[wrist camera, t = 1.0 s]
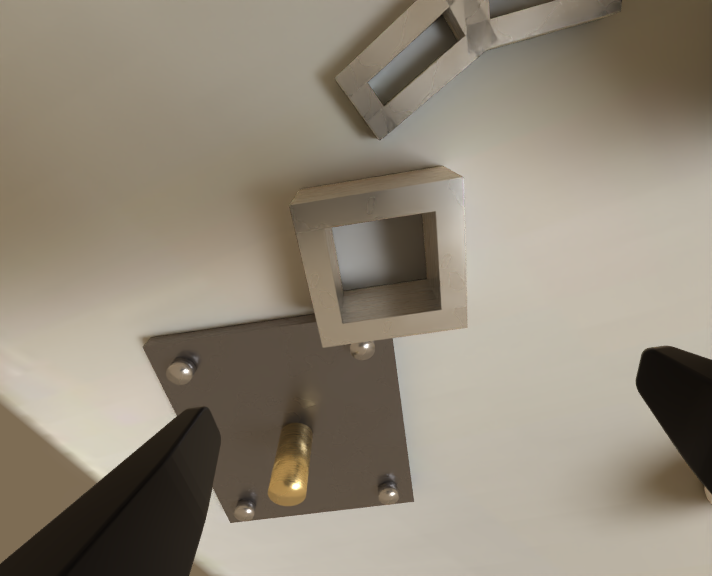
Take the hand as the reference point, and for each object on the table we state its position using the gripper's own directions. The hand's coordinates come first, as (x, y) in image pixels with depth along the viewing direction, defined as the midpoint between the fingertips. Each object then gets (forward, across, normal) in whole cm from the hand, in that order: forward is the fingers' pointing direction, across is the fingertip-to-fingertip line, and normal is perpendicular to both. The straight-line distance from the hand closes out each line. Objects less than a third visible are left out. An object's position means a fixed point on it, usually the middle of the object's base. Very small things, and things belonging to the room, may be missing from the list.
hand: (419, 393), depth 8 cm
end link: (+10, 0, 0) cm, 10 cm away
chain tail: (+10, -4, -7) cm, 13 cm away
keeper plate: (+10, +6, +10) cm, 15 cm away
